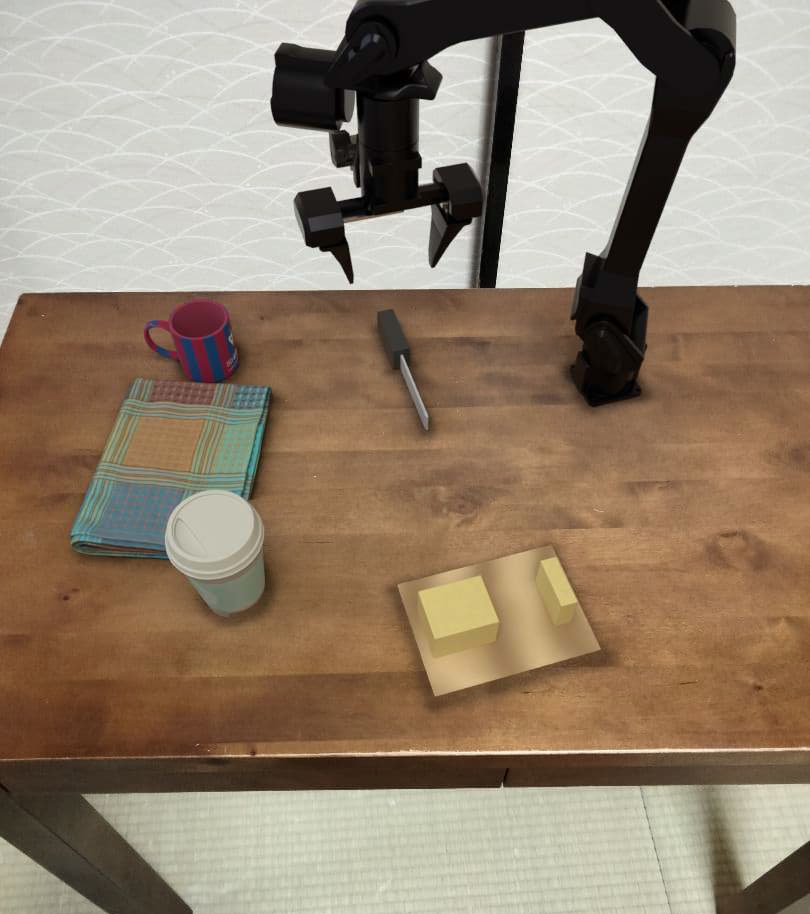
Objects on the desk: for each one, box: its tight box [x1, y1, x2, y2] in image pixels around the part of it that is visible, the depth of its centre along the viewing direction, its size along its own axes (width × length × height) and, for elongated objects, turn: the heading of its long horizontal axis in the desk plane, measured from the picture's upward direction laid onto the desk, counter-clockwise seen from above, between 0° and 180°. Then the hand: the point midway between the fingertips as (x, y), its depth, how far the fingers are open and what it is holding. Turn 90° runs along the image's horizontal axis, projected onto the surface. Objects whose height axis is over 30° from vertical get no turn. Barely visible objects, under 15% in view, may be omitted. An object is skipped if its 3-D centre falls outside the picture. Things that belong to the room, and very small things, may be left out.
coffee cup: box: [165, 490, 266, 619], centre depth 74 cm, size 8×8×12 cm
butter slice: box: [535, 556, 579, 627], centre depth 75 cm, size 2×5×4 cm, turn 16°
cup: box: [143, 298, 240, 383], centre depth 94 cm, size 7×10×7 cm
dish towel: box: [69, 376, 273, 560], centre depth 87 cm, size 17×23×2 cm
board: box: [396, 544, 602, 697], centre depth 77 cm, size 16×12×2 cm
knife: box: [376, 308, 429, 431], centre depth 94 cm, size 2×17×3 cm, turn 17°
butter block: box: [418, 575, 499, 658], centre depth 74 cm, size 6×5×4 cm
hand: (391, 273), depth 89 cm, fingers open, 9 cm apart
